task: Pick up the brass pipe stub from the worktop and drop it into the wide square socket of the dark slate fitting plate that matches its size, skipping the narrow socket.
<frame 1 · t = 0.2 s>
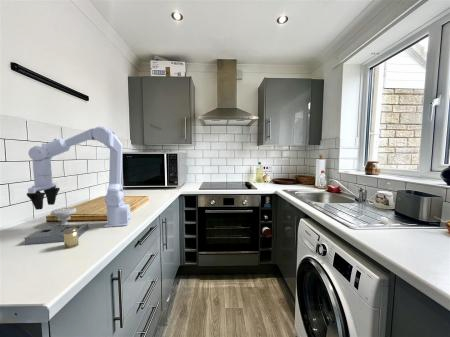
hand: (45, 206, 88), 10 cm above the countertop, tool pointing down, fingers open, 7 cm apart
showerhead: (64, 224, 96), on the countertop
pipe stub: (71, 245, 73), on the countertop
fitting plate: (59, 235, 82), on the countertop
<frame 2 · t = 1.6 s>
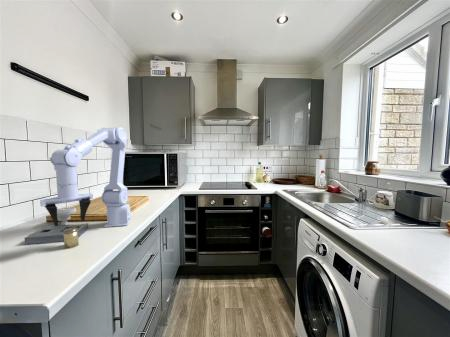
hand: (69, 222, 73), 9 cm above the countertop, tool pointing down, fingers open, 7 cm apart
nothing on the countertop moved.
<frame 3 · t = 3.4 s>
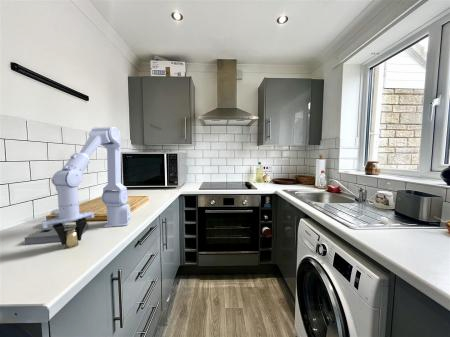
hand: (71, 241, 73), 1 cm above the countertop, tool pointing down, fingers closed on pipe stub, 4 cm apart
pipe stub: (71, 245, 73), on the countertop, touching gripper
everything else where it was.
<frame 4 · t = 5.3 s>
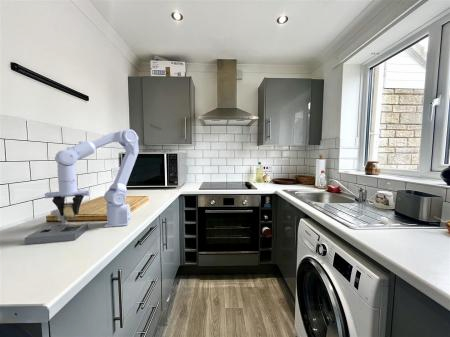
hand: (69, 214, 82), 8 cm above the countertop, tool pointing down, fingers closed on pipe stub, 4 cm apart
pipe stub: (70, 218, 82), point 7 cm above the countertop, touching gripper
everything else where it was.
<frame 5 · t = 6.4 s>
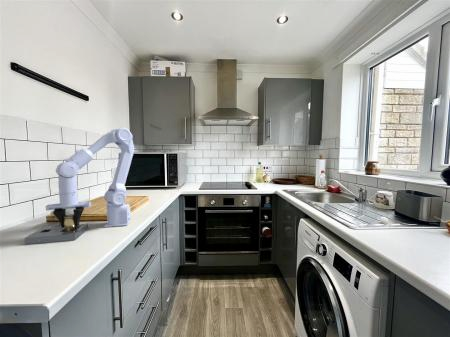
hand: (70, 226, 83), 4 cm above the countertop, tool pointing down, fingers closed on pipe stub, 4 cm apart
pipe stub: (70, 229, 83), point 2 cm above the countertop, touching gripper
everything else where it was.
when the fingers open (3 cm above the countertop, at t = 7.3 s): pipe stub drops 2 cm, resting in fitting plate.
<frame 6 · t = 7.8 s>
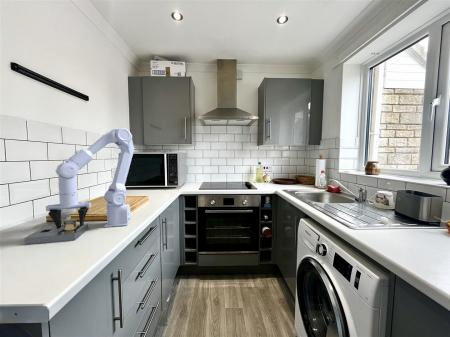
hand: (70, 226, 83), 3 cm above the countertop, tool pointing down, fingers open, 7 cm apart
pipe stub: (71, 235, 83), resting in fitting plate
everything else where it was.
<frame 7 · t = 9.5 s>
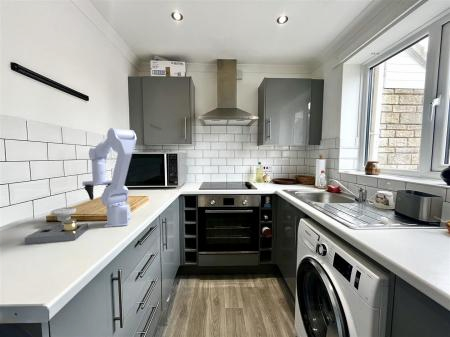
hand: (100, 199, 104), 9 cm above the countertop, tool pointing down, fingers open, 7 cm apart
nothing on the countertop moved.
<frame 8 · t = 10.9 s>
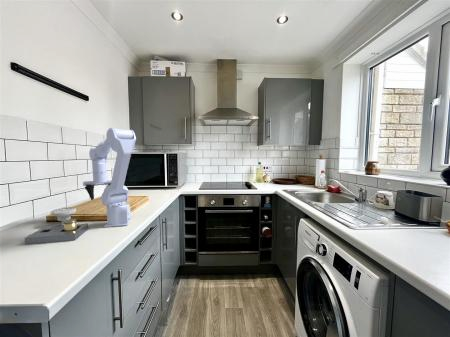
hand: (100, 199, 104), 9 cm above the countertop, tool pointing down, fingers open, 7 cm apart
nothing on the countertop moved.
at the end: pipe stub 0.1 cm from the target spot on the fitting plate, point 0.0 cm above the fitting plate's base; pipe stub tilted 0°; the gripper is holding nothing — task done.
